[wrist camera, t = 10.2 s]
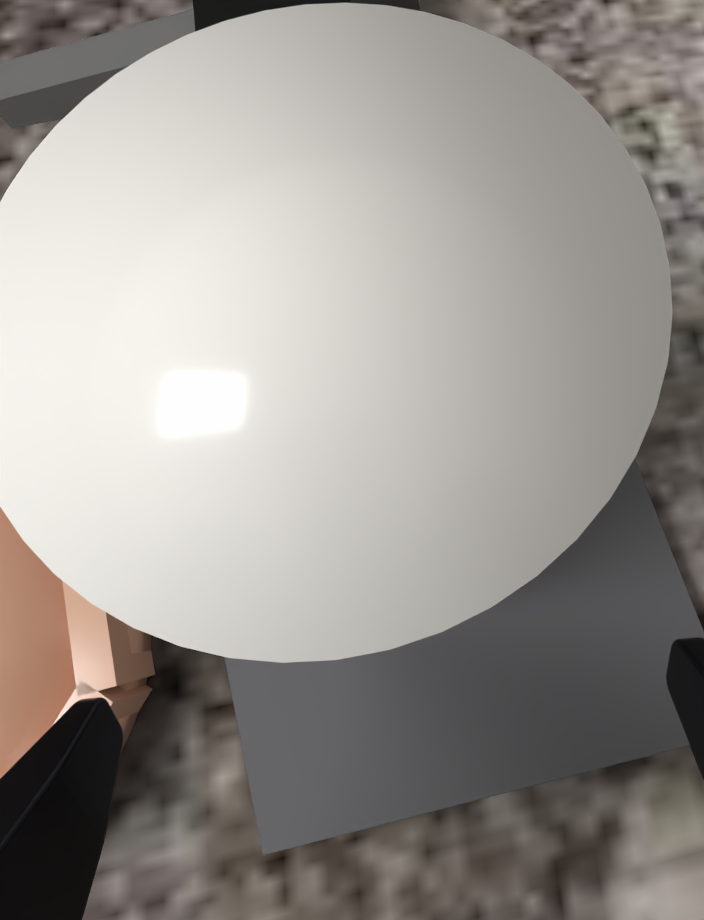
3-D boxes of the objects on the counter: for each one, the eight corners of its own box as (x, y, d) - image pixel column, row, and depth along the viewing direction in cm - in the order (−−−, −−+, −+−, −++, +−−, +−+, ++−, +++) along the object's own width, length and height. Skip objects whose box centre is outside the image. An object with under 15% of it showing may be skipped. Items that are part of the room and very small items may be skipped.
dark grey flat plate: (730, 726, 15) (743, 731, 14) (268, 845, 15) (262, 855, 14) (521, 197, 19) (524, 184, 18) (161, 303, 19) (153, 293, 18)
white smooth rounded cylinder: (487, 638, 15) (663, 728, 4) (233, 600, 16) (-132, 599, 5) (508, 389, 16) (678, 4, 6) (275, 367, 17) (55, 0, 7)
